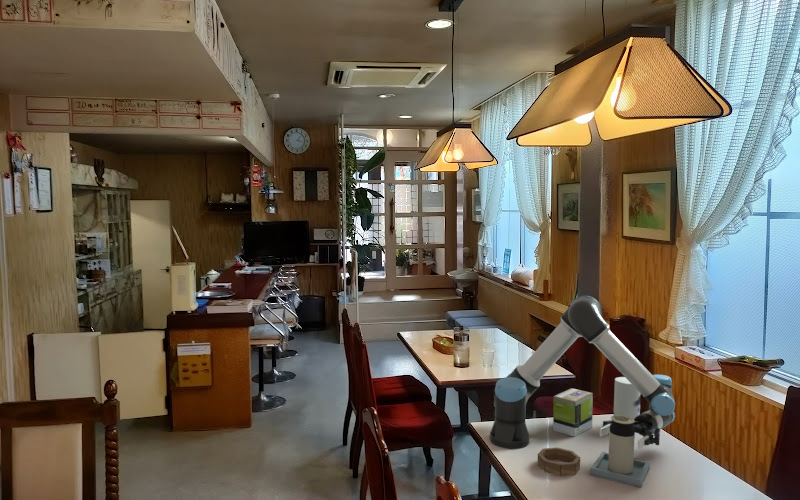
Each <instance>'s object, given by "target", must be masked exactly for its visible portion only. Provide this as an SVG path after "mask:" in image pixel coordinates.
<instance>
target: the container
mask: <svg viewBox="0 0 800 500" xmlns="http://www.w3.org/2000/svg"><path fill="white" fill-rule="evenodd" d="M613 390H614V392H613V393H614V395H613V397H614V398H613V415H625V416H629V417H631V418H633V419H635V417H637V416H638V415H640V414H641V413H640V412H641V395H642V394H641V393H640V392H639V391H638V390H637V389H636V388H635V387H634V386H633V385H632V384H631V383H630V382H629V381H628V380H627V379H626V378H625V376H619V377H615V378H614V389H613Z"/></svg>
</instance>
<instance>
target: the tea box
mask: <svg viewBox="0 0 800 500" xmlns="http://www.w3.org/2000/svg"><path fill="white" fill-rule="evenodd" d="M593 394H594V393H593V392H590V391H585V390H581V389H576V388H572V387H571V388H569V389H567V390H565V391H562V392H560V393H557V394H556V395H554V396H553V410H552V411H553V416H552V418H553V420H552V424H553V425H552V426H553V427H552V429H553V431H554V432H558V433H561V434H564V435H568V436H571V437H577V436H578V435H580V434H582V433H583V432H586V431H587V430H589V429H591V428H593V416H594V414H593V409H594V407H593V406H594V405H593V404H594V403H593V402H594V401H593V397H594V395H593Z"/></svg>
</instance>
